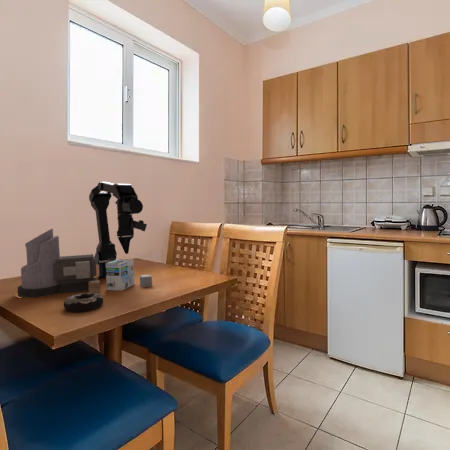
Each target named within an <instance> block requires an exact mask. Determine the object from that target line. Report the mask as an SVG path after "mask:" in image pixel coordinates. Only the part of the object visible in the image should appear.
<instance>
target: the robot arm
mask: <svg viewBox="0 0 450 450" xmlns="http://www.w3.org/2000/svg"><path fill="white" fill-rule="evenodd" d="M97 183H98V184H97V185H95V187H93V188H92V189H91V190H90V193H89V195H88V201H89V202H90V206H91V207H92V209H93V210H94V211H95V218H96V227H97V235H98V244H97V246H96V252H95V254H94V255H93V257H96V266H98V274H97V277H98V279H102V278H106V263H108V262H111V261H114V260H117V251H116V244H115V243H113V242H112V241H111V237H110V230H109V221H108V213H107V209H108V207H109V205H110V200H111V198H112V196H113V197H114V198H116V199H117V200H115V203H114V204H116V210H117V227H118V228H117V231H116V237H117V239H118V242H119V244H120V246H121V247H122V249H123V251H124V254H125V255H128V254H129V250H130V244H131V240H132V239H134V237H135V229H137V230H139V231H141V232H145V231H146V229H147V226H148V224H147V223H145V222H144V220H141V219H139V220H138V221H136V220H134V217H133V215H136V214H140V213H142V211H143V208H144V205H143V202H142V201H141V200H140V199H139V198H138V197H139V196H138V194H137V192H136V191H135V189H134V186H133V185H132V184H131V183H112V182H109V181H100V182H97Z"/></svg>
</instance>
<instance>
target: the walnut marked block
mask: <svg viewBox="0 0 450 450" xmlns="http://www.w3.org/2000/svg"><path fill="white" fill-rule="evenodd" d="M88 288H89V290H88V292H92V293H98V294H100V293H101V281H100V279H96V280H95V281H88Z"/></svg>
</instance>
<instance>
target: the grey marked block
mask: <svg viewBox="0 0 450 450" xmlns="http://www.w3.org/2000/svg"><path fill="white" fill-rule="evenodd" d="M139 284H140V286H141V287H142V288H147V287H153V276H152V275H151V274H144V275H143V274H142V275H139Z"/></svg>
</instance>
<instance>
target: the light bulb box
mask: <svg viewBox="0 0 450 450" xmlns="http://www.w3.org/2000/svg"><path fill="white" fill-rule="evenodd" d="M105 279H106V280H105V281H106V291H115V292H116V291H118V292H119V291H121V292H122V291H124V290H126V289H128V288H130V287H132V286H135V261H134V258H118V259H117V258H116V260H114V261H111V262H108V263H106V277H105Z"/></svg>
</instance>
